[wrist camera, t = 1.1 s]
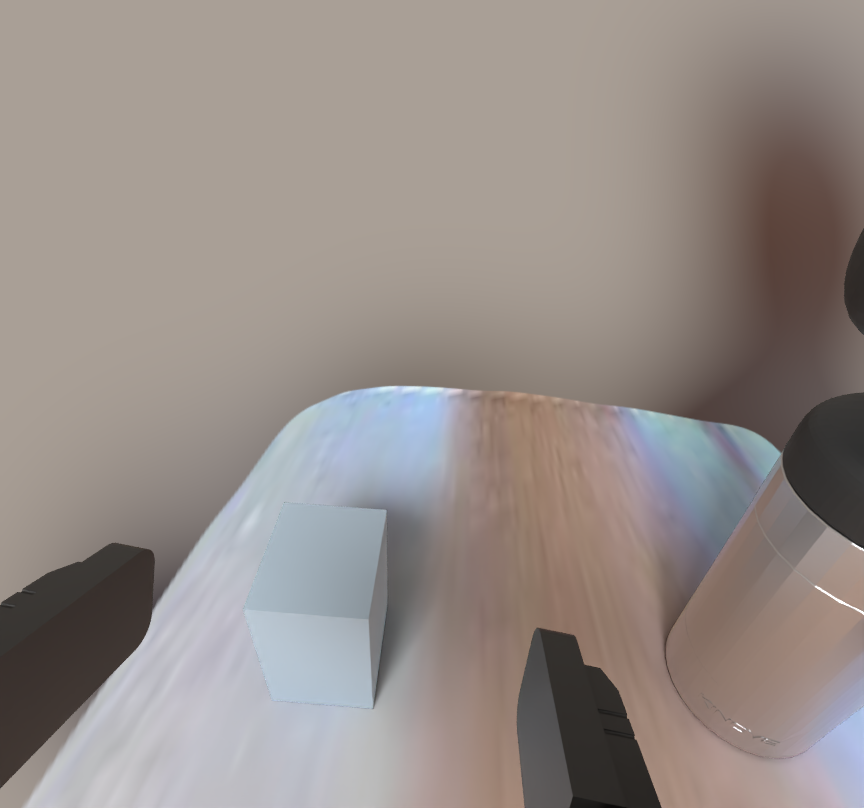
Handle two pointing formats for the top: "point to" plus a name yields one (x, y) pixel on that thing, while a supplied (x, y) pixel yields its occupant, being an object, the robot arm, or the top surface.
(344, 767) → the top surface
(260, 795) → the top surface
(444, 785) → the top surface
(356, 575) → the tall pale blue box
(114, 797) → the top surface
